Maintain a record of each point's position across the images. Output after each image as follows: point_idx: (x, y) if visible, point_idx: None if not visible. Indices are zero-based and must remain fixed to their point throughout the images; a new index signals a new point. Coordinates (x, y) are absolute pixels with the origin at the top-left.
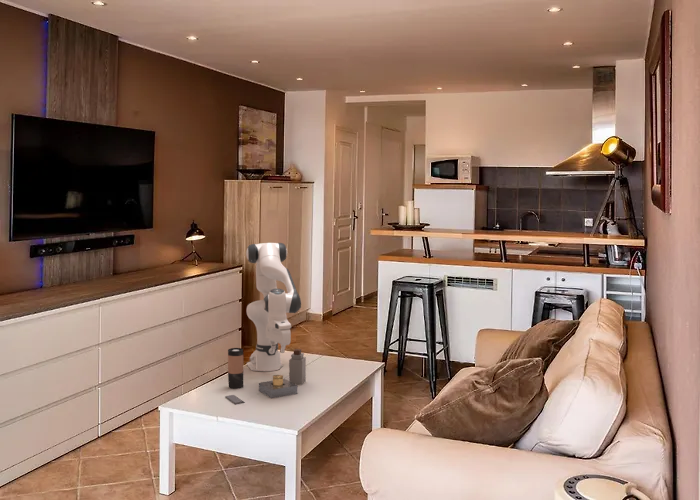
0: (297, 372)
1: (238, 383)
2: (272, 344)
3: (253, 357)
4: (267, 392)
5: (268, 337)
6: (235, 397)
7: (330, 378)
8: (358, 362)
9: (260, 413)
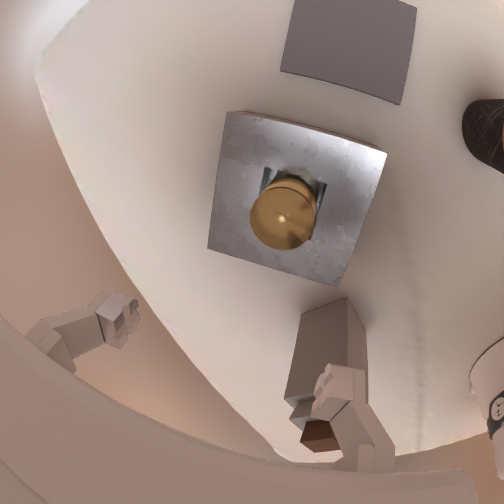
0: (311, 348)
1: (477, 117)
2: (349, 417)
3: None
4: (276, 119)
5: (412, 495)
6: (370, 15)
7: None
8: (329, 457)
9: (148, 12)
